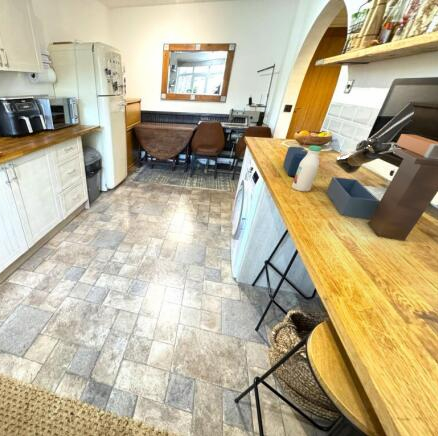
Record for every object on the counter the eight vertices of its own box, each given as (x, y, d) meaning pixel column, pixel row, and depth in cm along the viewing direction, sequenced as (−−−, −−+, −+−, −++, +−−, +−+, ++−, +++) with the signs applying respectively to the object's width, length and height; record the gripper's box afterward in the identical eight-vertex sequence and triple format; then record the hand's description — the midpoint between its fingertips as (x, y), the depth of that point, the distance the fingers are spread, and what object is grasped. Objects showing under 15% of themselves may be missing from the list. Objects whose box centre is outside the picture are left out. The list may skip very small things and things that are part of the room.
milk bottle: (313, 189, 114) (329, 147, 104) (304, 193, 110) (321, 149, 100) (296, 184, 119) (310, 143, 109) (288, 187, 115) (302, 145, 105)
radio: (305, 179, 126) (320, 140, 116) (287, 177, 128) (299, 138, 118) (297, 167, 143) (309, 132, 133) (281, 165, 145) (292, 131, 135)
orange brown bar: (395, 144, 83) (401, 133, 81) (409, 145, 82) (415, 134, 80) (426, 158, 68) (434, 144, 66) (443, 159, 67) (452, 146, 65)
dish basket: (349, 195, 108) (356, 179, 104) (370, 219, 89) (380, 201, 86) (325, 192, 111) (332, 176, 107) (341, 215, 92) (349, 197, 88)
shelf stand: (391, 223, 87) (435, 152, 74) (410, 242, 77) (465, 163, 64) (359, 218, 90) (395, 148, 77) (372, 235, 80) (417, 159, 67)
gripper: (349, 143, 105) (371, 129, 90) (389, 146, 101) (419, 132, 86) (346, 160, 106) (367, 148, 90) (385, 163, 101) (415, 152, 86)
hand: (392, 140), depth 88 cm, fingers open, 8 cm apart
